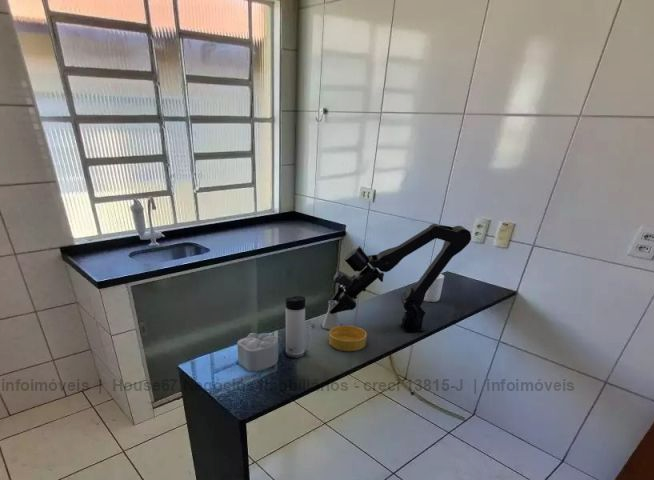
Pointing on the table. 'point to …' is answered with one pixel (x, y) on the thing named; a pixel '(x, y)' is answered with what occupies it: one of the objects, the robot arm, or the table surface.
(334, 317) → the flask
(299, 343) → the travel mug
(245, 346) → the lumpy-topped squat cylinder
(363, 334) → the bowl
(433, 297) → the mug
